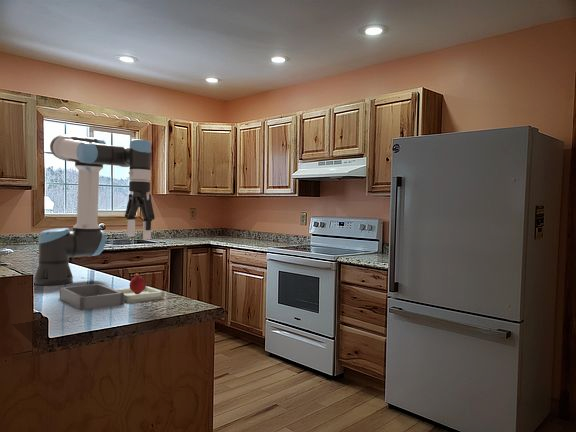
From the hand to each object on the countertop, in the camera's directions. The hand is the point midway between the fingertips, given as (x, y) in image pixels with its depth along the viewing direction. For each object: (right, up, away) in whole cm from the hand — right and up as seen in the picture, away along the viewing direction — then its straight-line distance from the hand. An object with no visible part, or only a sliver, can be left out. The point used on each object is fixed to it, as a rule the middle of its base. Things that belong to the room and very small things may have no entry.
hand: (138, 237), depth 168 cm
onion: (-1, -22, 0) cm, 22 cm away
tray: (-1, -23, 0) cm, 23 cm away
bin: (-14, -22, -8) cm, 28 cm away
